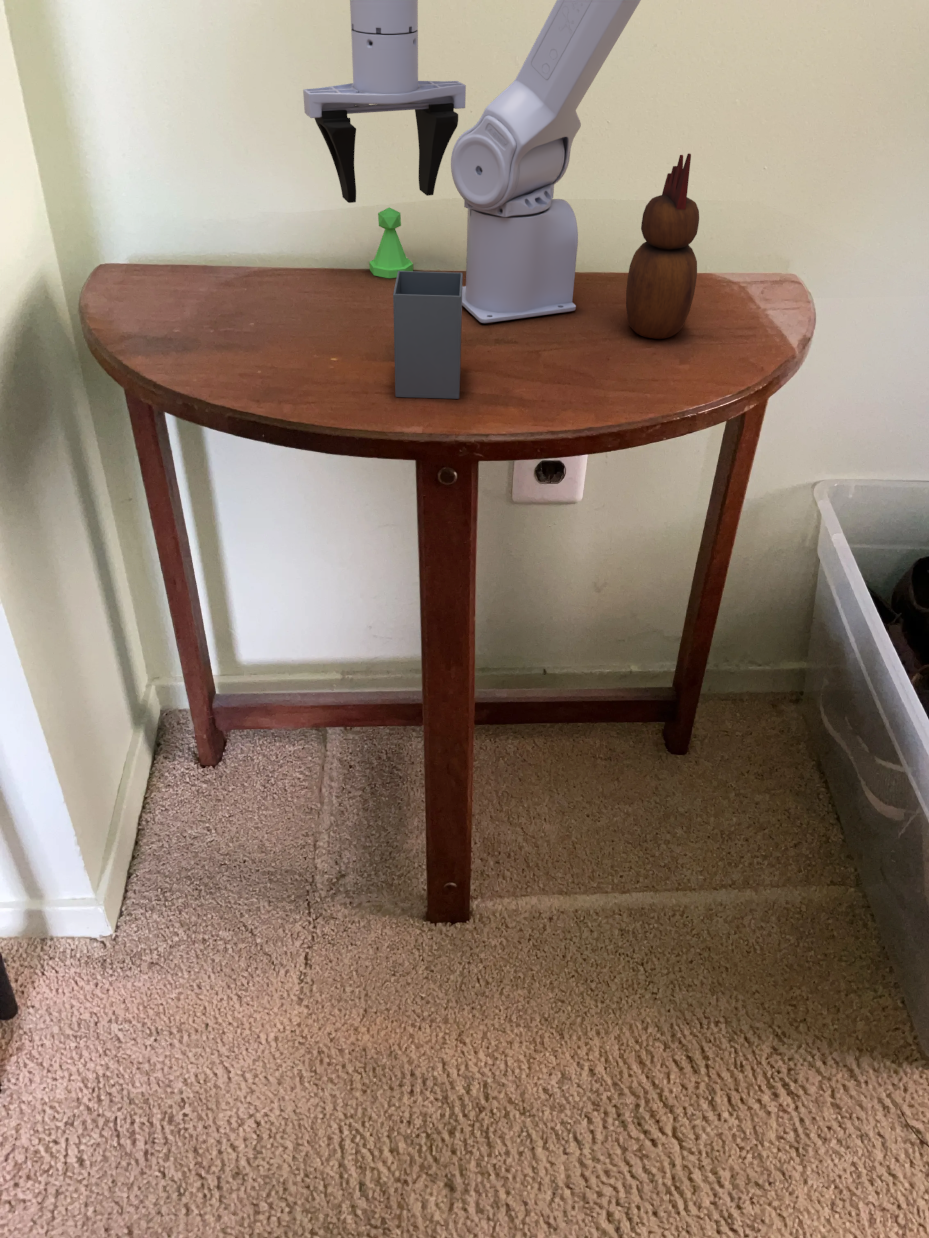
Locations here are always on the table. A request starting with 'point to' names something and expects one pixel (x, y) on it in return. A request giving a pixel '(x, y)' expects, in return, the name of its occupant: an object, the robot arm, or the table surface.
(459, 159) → the robot arm
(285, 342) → the table surface
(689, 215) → the wooden figurine
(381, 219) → the game piece
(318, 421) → the table surface
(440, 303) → the bin
